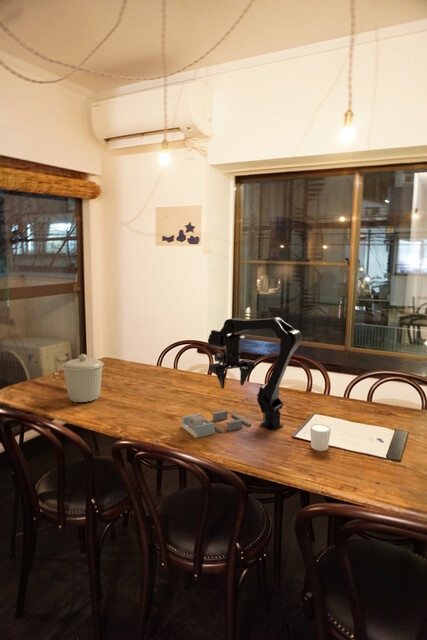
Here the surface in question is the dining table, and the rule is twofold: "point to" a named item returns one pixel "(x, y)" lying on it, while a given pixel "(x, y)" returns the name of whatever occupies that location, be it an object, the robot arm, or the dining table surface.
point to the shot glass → (320, 437)
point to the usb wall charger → (195, 421)
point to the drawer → (198, 427)
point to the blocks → (231, 424)
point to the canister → (83, 378)
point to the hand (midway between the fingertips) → (232, 386)
